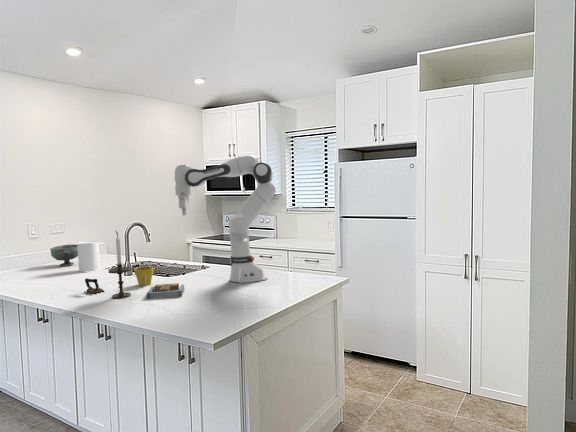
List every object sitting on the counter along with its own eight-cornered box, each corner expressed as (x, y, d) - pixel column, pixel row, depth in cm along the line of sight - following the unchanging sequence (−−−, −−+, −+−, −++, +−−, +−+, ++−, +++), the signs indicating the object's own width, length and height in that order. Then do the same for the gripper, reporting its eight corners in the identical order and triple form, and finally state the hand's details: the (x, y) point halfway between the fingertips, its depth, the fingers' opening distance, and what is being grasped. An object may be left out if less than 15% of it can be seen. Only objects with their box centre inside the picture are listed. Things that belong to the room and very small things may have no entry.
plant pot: (148, 286, 235) (147, 269, 234) (131, 286, 237) (130, 269, 236) (157, 282, 245) (156, 266, 244) (141, 282, 247) (140, 266, 246)
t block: (179, 290, 224) (178, 283, 223) (176, 296, 212) (175, 288, 212) (156, 292, 222) (155, 284, 222) (151, 297, 210) (151, 290, 210)
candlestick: (106, 299, 211) (101, 231, 208) (117, 293, 221) (113, 228, 219) (125, 299, 209) (121, 230, 207) (136, 293, 220) (132, 228, 217)
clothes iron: (93, 296, 221) (88, 278, 220) (82, 298, 227) (77, 281, 227) (105, 291, 226) (99, 274, 226) (94, 294, 233) (88, 277, 232)
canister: (94, 271, 286) (92, 243, 285) (75, 272, 287) (73, 244, 285) (103, 268, 300) (101, 240, 298) (85, 268, 300) (83, 241, 299)
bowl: (46, 268, 308) (44, 248, 307) (64, 263, 327) (62, 244, 326) (69, 268, 305) (68, 247, 304) (86, 263, 324) (85, 244, 323)
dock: (184, 290, 224) (184, 284, 224) (181, 296, 210) (181, 290, 210) (151, 292, 222) (151, 286, 222) (146, 299, 208) (146, 293, 208)
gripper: (186, 192, 237) (188, 216, 238) (190, 191, 257) (191, 214, 258) (175, 192, 236) (176, 216, 237) (179, 192, 256) (180, 214, 257)
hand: (184, 215), depth 248 cm, fingers closed
